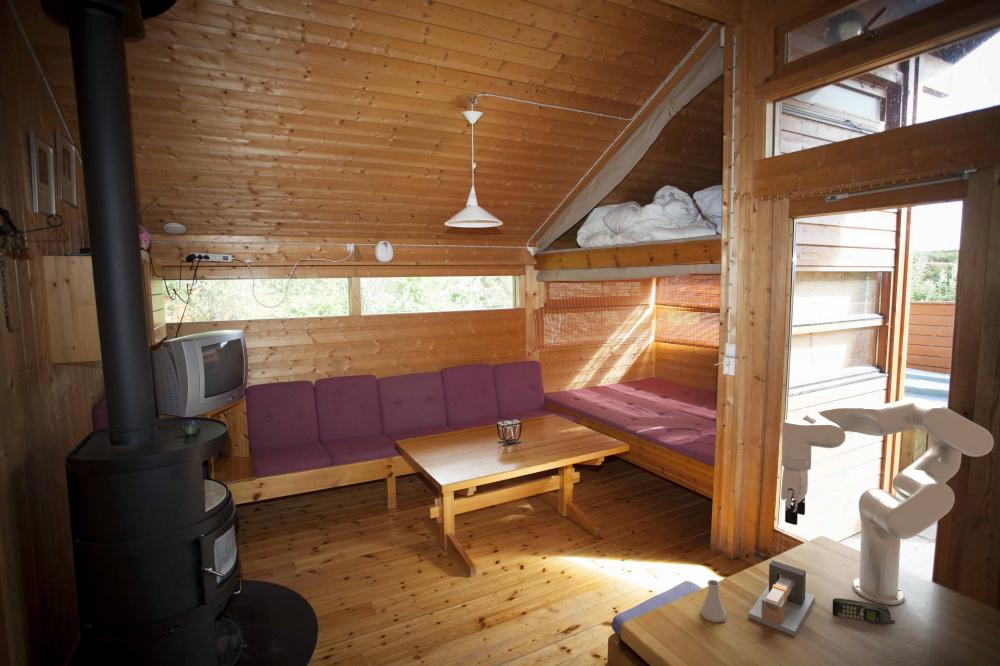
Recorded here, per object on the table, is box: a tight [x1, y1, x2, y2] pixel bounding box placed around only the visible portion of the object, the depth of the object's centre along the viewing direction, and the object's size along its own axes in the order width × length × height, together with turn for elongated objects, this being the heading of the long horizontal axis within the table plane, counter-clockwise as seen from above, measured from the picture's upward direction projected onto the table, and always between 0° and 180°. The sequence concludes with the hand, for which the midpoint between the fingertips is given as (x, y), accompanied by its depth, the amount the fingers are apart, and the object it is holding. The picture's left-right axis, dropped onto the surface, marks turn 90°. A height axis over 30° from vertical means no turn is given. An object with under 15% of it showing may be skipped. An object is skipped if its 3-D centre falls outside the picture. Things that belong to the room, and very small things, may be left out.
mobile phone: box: [832, 597, 896, 625], centre depth 149 cm, size 5×3×15 cm
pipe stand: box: [748, 575, 816, 637], centre depth 155 cm, size 20×12×8 cm, turn 136°
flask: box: [699, 579, 728, 623], centre depth 154 cm, size 7×7×10 cm
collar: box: [768, 559, 807, 604], centre depth 157 cm, size 3×9×9 cm, turn 46°
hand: (795, 518), depth 160 cm, fingers open, 7 cm apart
